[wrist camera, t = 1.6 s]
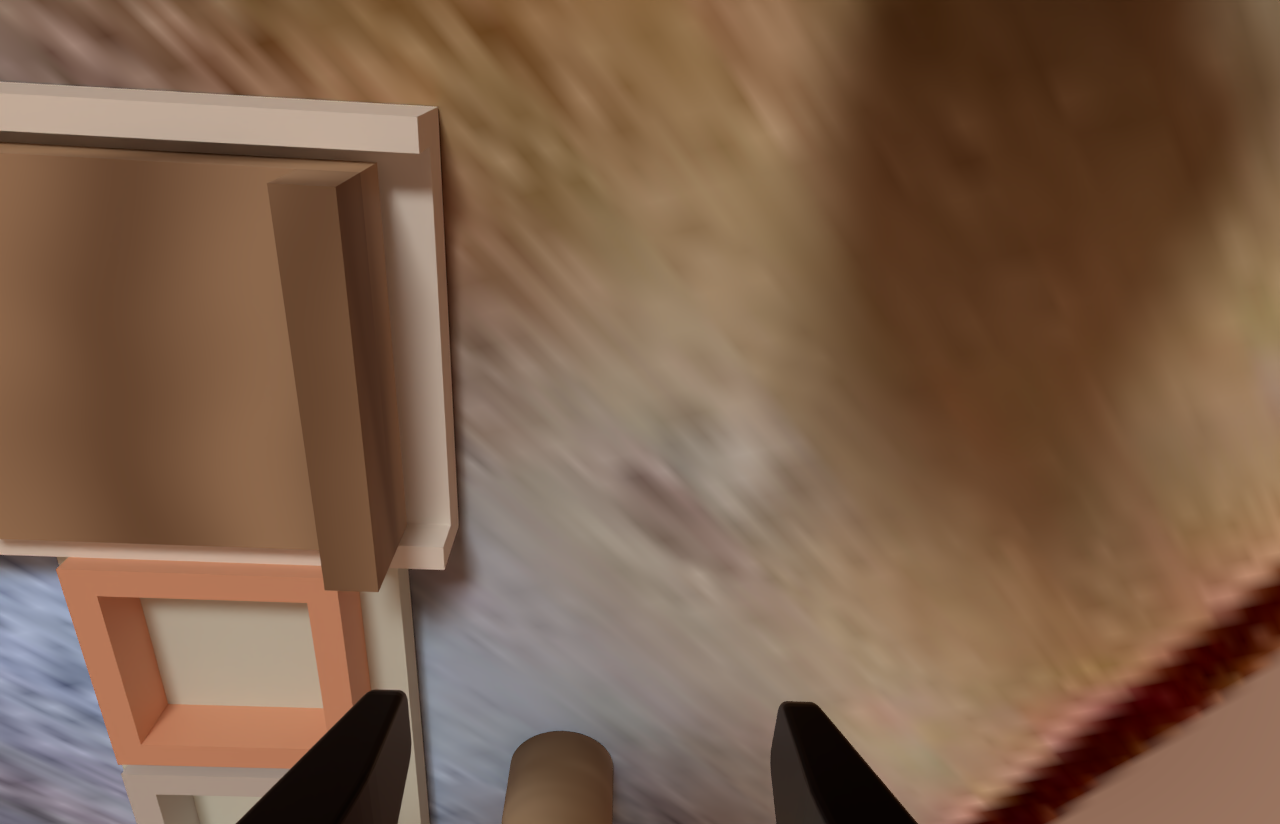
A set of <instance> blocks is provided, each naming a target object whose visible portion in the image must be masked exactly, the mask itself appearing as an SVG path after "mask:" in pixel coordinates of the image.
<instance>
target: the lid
mask: <svg viewBox="0 0 1280 824" xmlns="http://www.w3.org/2000/svg"><path fill="white" fill-rule="evenodd" d="M406 527H407V516H406V504H405V492H404V480H403V468H402V456H401V444H400V432H399V420H398V408H397V396H396V384H395V372H394V360H393V348H392V336H391V324H390V312H389V300H388V288H387V276H386V264H385V251H384V239H383V227H382V215H381V203H380V191H379V179H378V167H377V162H361V161H343V160H324V159H306V158H288V157H269V156H251V155H233V154H214V153H196V152H178V151H159V150H141V149H123V148H104V147H86V146H68V145H49V144H31V143H13V142H0V539H17V540H45V541H74V542H102V543H131V544H159V545H188V546H216V547H245V548H273V549H302V550H319V553H320V560H321V567H322V574H323V582H324V589H325V590H327V591H357V592H379V590H380V588H381V585H382V583H383V581H384V578H385V576H386V574H387V571H388V569H389V566H390V564H391V562H392V559H393V557H394V555H395V552H396V550H397V548H398V545H399V543H400V541H401V538H402V536H403V534H404V531H405V529H406Z"/></svg>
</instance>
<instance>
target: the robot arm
mask: <svg viewBox="0 0 1280 824" xmlns="http://www.w3.org/2000/svg"><path fill="white" fill-rule="evenodd" d="M410 757H411V730H410V719H409V709H408V699H407V696H406V694H405V692H403V691H401V690H378V689H374V690H371V691H369V692H367V693H366V694H365V695H364V696H363V697H362V698H361V699H360V700H359V701H358V702H357V703H356V704H355V705H354V706H353V707H352V708H351V709H350V710H349V711H348V712H347V713H346V714H345V715H344V716H343V717H342V718H341V719H340V720H339V721H338V722H337V723H336V724H335V725H334V726H333V727H332V728H331V729H330V730H329V731H328V732H327V733H326V734H325V735H324V736H323V737H322V738H321V739H320V740H319V741H318V742H317V743H316V744H315V745H314V746H313V747H312V748H311V749H310V750H309V751H308V752H307V753H306V754H305V755H304V756H303V757H302V758H301V759H300V760H299V761H298V762H297V763H296V764H295V765H294V766H293V767H292V768H291V769H290V770H289V771H288V772H287V773H286V774H285V775H284V776H283V777H282V778H281V779H280V780H279V781H278V782H277V783H276V784H275V785H274V786H273V787H272V788H271V789H270V790H269V791H268V792H267V793H266V794H265V795H264V796H263V797H262V798H261V799H260V800H259V801H258V802H257V803H256V804H255V805H254V806H253V807H252V808H251V809H250V810H249V811H248V812H247V813H246V814H245V815H244V816H243V817H242V818H241V819H240V820H239V821H238V822H237V823H236V824H398V819H399V814H400V809H401V804H402V799H403V794H404V789H405V784H406V779H407V774H408V768H409V763H410ZM770 763H771V777H772V786H773V795H774V805H775V814H776V823H777V824H918V823H917V822H916V821H915V820H914V819H913V817H912V816H911V815H910V814H909V813H908V812H907V810H906V809H905V808H904V807H903V806H902V804H901V803H900V802H899V801H898V800H897V798H896V797H895V796H894V795H893V794H892V793H891V791H890V790H889V789H888V788H887V787H886V785H885V784H884V783H883V782H882V781H881V779H880V778H879V777H878V776H877V775H876V774H875V772H874V771H873V770H872V769H871V768H870V766H869V765H868V764H867V763H866V762H865V761H864V759H863V758H862V757H861V756H860V755H859V753H858V752H857V751H856V750H855V749H854V747H853V746H852V745H851V744H850V743H849V742H848V740H847V739H846V738H845V737H844V736H843V734H842V733H841V732H840V731H839V730H838V728H837V727H836V726H835V725H834V724H833V723H832V721H831V720H830V719H829V718H828V717H827V715H826V714H825V713H824V712H823V711H822V710H821V708H820V707H819V706H818V705H816V704H815V703H812V702H793V701H786V702H783V703H782V704H781V705H780V707H779V709H778V714H777V719H776V725H775V731H774V736H773V742H772V748H771V762H770Z"/></svg>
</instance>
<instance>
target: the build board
mask: <svg viewBox="0 0 1280 824" xmlns="http://www.w3.org/2000/svg"><path fill="white" fill-rule="evenodd" d="M57 560H58V563H59V567H58V568H57V569H56V571H57V574H58V577H59V581H60V584H61V587H62V590H63V593H64V596H65V599H66V603H67V606H68V609H69V612H70V615H71V618H72V621H73V625H74V628H75V631H76V634H77V637H78V640H79V643H80V646H81V650H82V653H83V656H84V659H85V662H86V665H87V668H88V672H89V675H90V678H91V681H92V684H93V687H94V690H95V694H96V697H97V700H98V703H99V706H100V709H101V712H102V716H103V719H104V722H105V725H106V728H107V731H108V734H109V738H110V741H111V744H112V747H113V750H114V753H115V756H116V759H117V763H118V765H122V766H123V769H124V771H123V773H122V774H121V775H122V778H123V781H124V785H125V788H126V791H127V794H128V797H129V800H130V803H131V807H132V810H133V813H134V816H135V819H136V822H137V824H236V823H237V822H238V821H239V820H240V819H241V818H242V817H243V816H244V815H245V814H246V813H247V812H248V811H249V810H250V809H251V808H252V807H253V806H254V805H255V804H256V803H257V802H258V801H259V800H260V799H261V798H262V797H263V796H264V795H265V794H266V793H267V792H268V791H269V790H270V789H271V788H272V787H273V786H274V785H275V784H276V783H277V782H278V781H279V780H280V779H281V778H282V777H283V776H284V775H285V774H286V773H287V772H288V771H289V770H290V769H291V768H292V767H293V766H294V765H295V764H296V763H297V762H298V761H299V760H300V759H301V758H302V757H303V756H304V755H305V754H306V753H307V752H308V751H309V750H310V749H311V748H312V747H313V746H314V745H315V744H316V743H317V742H318V741H319V740H320V739H321V738H322V737H323V736H324V735H325V734H326V733H327V732H328V731H329V730H330V729H331V728H332V727H333V726H334V725H335V724H336V723H337V722H338V721H339V720H340V719H341V718H342V717H343V716H344V715H345V714H346V713H347V712H348V711H349V710H350V709H351V708H352V707H353V706H354V705H355V704H356V703H357V702H358V701H359V700H360V699H361V698H362V697H363V696H364V695H365V694H366V693H367V692H369V691H371V690H374V689H378V690H401V691H403V692H405V694H406V696H407V699H408V709H409V719H410V730H411V757H410V763H409V768H408V774H407V779H406V784H405V789H404V794H403V799H402V804H401V809H400V814H399V819H398V824H430V819H429V807H428V795H427V784H426V772H425V760H424V748H423V736H422V725H421V713H420V701H419V689H418V677H417V666H416V654H415V642H414V630H413V618H412V607H411V595H410V583H409V571H408V569H402V568H389V569H388V571H387V574H386V576H385V578H384V581H383V583H382V585H381V588H380V590H379V592H357V591H327V590H325V589H324V582H323V574H322V567H321V566H314V565H285V564H256V563H227V562H198V561H169V560H139V559H110V558H81V557H57Z"/></svg>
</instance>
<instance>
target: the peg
mask: <svg viewBox="0 0 1280 824" xmlns="http://www.w3.org/2000/svg"><path fill="white" fill-rule="evenodd" d="M612 816H613V762H612V759H611V756H610V755H609V753H608V751H607V750H606V749H605V748H604V747H603V746H602V745H601V744H600V743H599V742H597V741H596V740H594V739H592V738H590V737H588V736H585V735H583V734H579V733H575V732H569V731H553V732H547V733H542V734H539V735H536V736H534V737H532V738H530V739H528V740H526V741H525V742H524V743H522V744H521V745H520V746H519V747H518V748H517V750H516V751H515V753H514V754H513V757H512V760H511V765H510V771H509V778H508V784H507V791H506V797H505V804H504V811H503V817H502V824H612Z"/></svg>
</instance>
